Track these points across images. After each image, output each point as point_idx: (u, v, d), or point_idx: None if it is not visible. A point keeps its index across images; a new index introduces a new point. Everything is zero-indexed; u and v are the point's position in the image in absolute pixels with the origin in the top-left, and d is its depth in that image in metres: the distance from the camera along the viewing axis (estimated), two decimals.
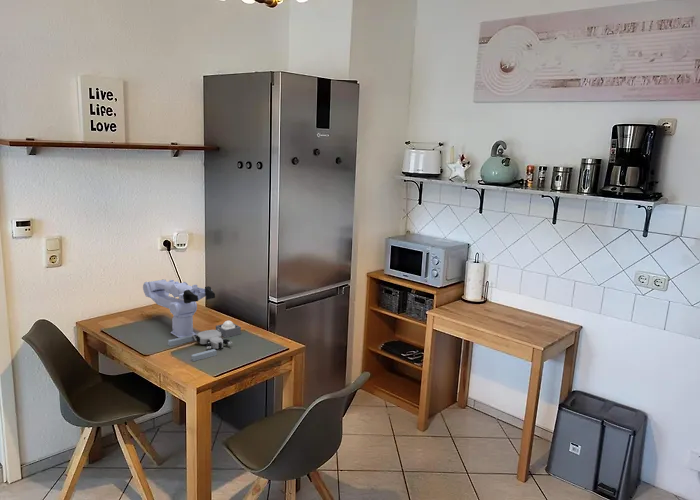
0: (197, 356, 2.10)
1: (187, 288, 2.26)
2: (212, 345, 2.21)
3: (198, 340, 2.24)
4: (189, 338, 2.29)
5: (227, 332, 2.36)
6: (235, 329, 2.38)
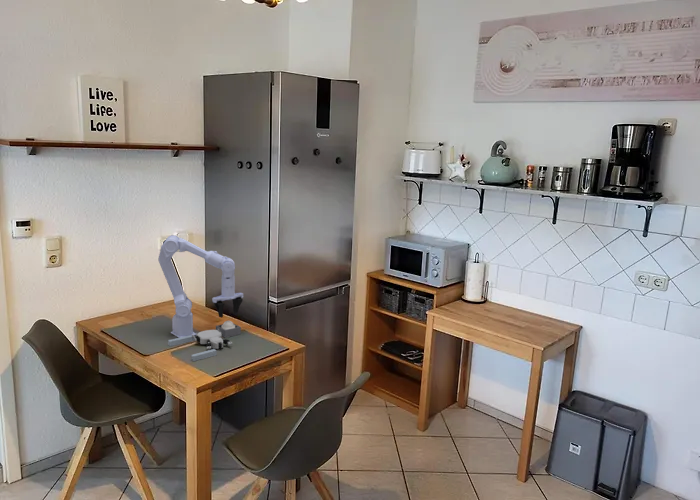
0: (197, 356, 2.10)
1: (227, 290, 2.34)
2: (212, 345, 2.21)
3: (198, 340, 2.24)
4: (189, 338, 2.29)
5: (227, 332, 2.36)
6: (235, 329, 2.38)
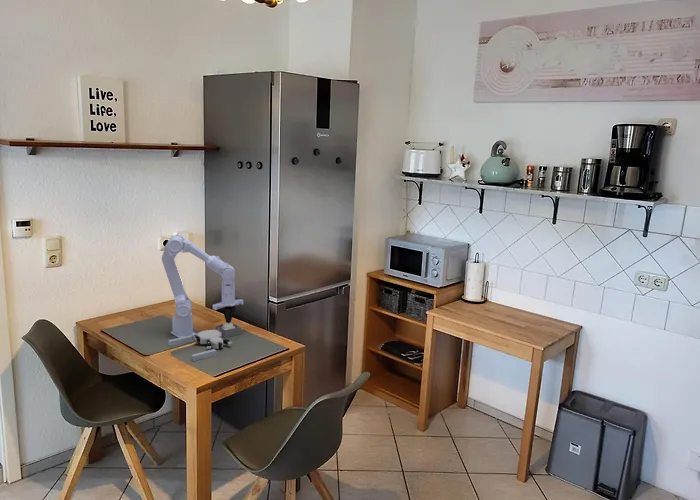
0: (197, 356, 2.10)
1: (227, 297, 2.35)
2: (212, 345, 2.21)
3: (198, 340, 2.24)
4: (189, 338, 2.29)
5: (227, 332, 2.36)
6: (235, 329, 2.38)
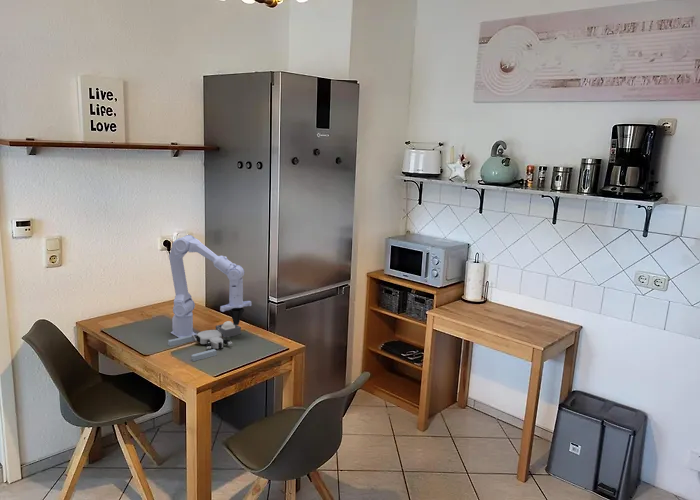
0: (197, 356, 2.10)
1: (235, 299, 2.28)
2: (212, 345, 2.21)
3: (198, 340, 2.24)
4: (189, 338, 2.29)
5: (227, 332, 2.36)
6: (235, 329, 2.38)
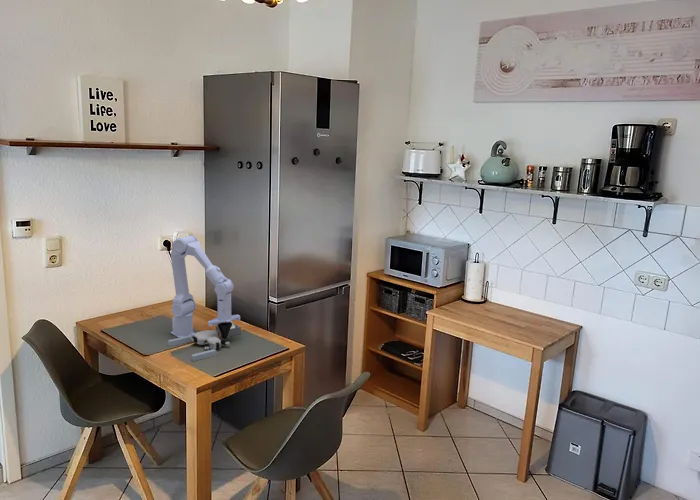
0: (197, 356, 2.10)
1: (223, 313, 2.25)
2: (210, 345, 2.20)
3: (195, 341, 2.23)
4: (189, 338, 2.29)
5: None
6: (235, 329, 2.38)
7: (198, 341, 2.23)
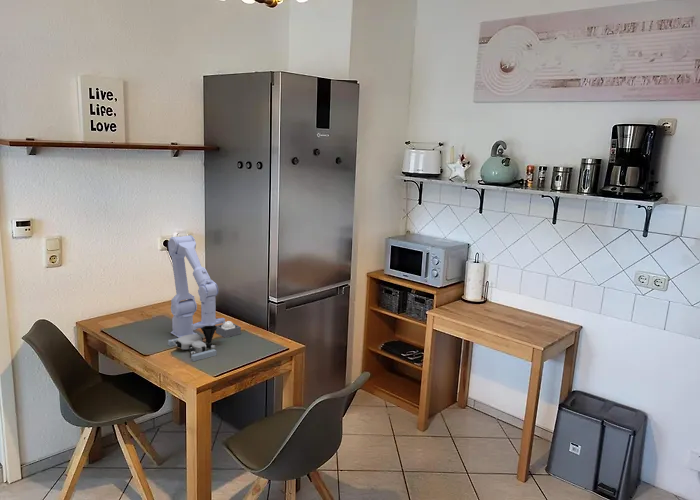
0: (197, 356, 2.10)
1: (207, 316, 2.20)
2: (195, 350, 2.15)
3: (179, 346, 2.17)
4: None
5: (227, 332, 2.36)
6: (235, 329, 2.38)
7: (182, 346, 2.17)
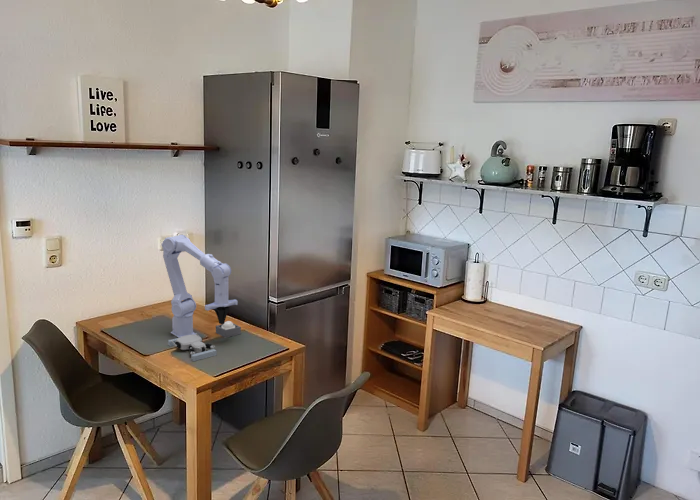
0: (197, 356, 2.10)
1: (220, 297, 2.23)
2: (195, 350, 2.15)
3: (179, 346, 2.17)
4: None
5: (227, 332, 2.36)
6: (235, 329, 2.38)
7: (182, 346, 2.17)
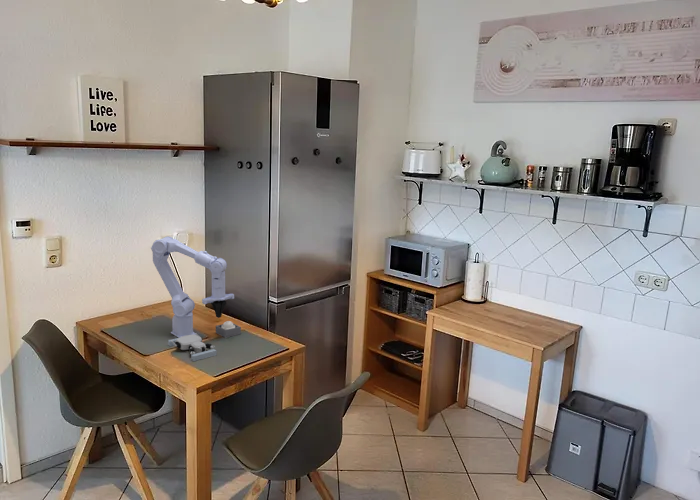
0: (197, 356, 2.10)
1: (217, 291, 2.28)
2: (195, 350, 2.15)
3: (179, 346, 2.17)
4: None
5: (227, 332, 2.36)
6: (235, 329, 2.38)
7: (182, 346, 2.17)
